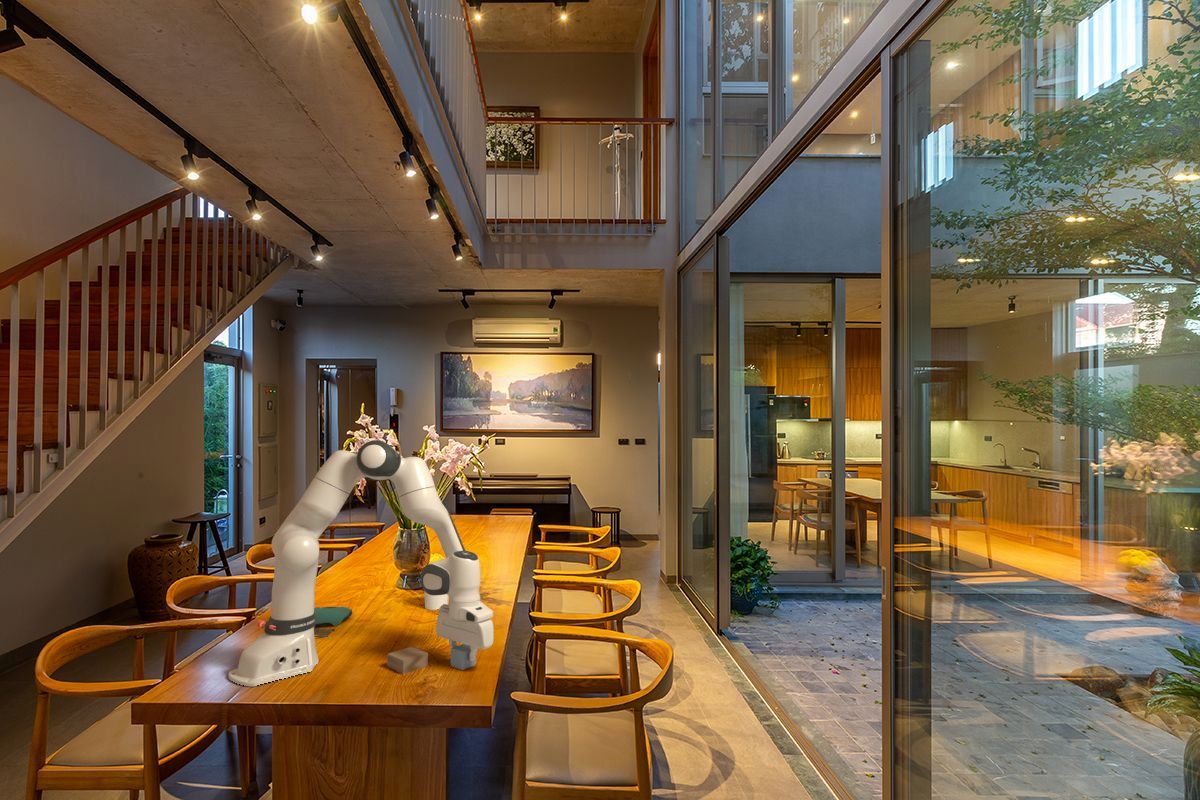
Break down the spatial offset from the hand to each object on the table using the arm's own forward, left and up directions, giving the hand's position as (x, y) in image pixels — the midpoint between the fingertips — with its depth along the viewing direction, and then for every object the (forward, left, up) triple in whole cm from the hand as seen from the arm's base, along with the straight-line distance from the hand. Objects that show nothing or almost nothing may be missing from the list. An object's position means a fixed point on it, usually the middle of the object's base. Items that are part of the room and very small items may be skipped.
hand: (463, 657), depth 179 cm
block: (0, 0, -2) cm, 2 cm away
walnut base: (-10, +12, -2) cm, 16 cm away
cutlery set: (-4, +67, -3) cm, 68 cm away
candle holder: (+34, +51, -2) cm, 61 cm away
